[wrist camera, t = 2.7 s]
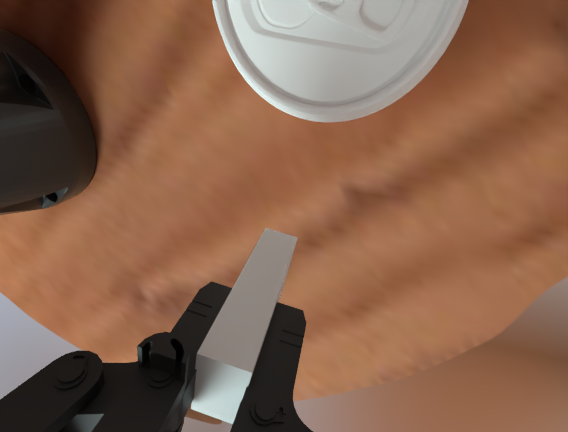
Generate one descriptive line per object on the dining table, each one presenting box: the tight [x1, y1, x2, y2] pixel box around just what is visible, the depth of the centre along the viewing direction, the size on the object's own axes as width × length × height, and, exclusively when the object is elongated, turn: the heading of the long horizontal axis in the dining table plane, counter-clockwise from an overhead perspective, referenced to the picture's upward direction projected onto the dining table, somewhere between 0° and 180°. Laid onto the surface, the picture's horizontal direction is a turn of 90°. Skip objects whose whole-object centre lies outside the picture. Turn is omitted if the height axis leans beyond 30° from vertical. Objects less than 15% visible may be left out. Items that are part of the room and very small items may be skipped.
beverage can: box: [212, 0, 469, 122], centre depth 13 cm, size 8×8×12 cm
